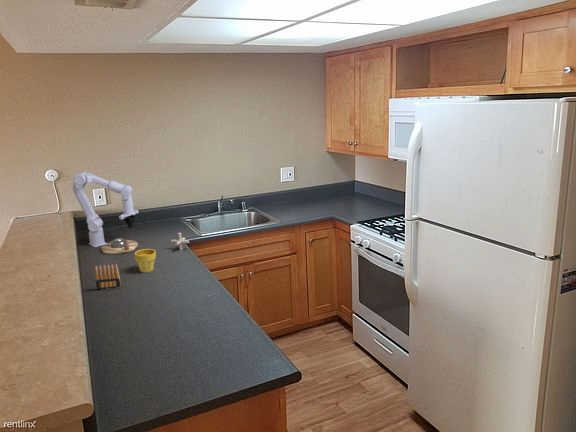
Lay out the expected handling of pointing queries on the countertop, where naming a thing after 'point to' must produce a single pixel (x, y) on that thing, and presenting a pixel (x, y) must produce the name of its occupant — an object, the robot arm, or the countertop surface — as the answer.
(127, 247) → the beige round shallow disc
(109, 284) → the ammunition clip
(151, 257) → the plant pot
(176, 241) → the pipe connector
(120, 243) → the cover
